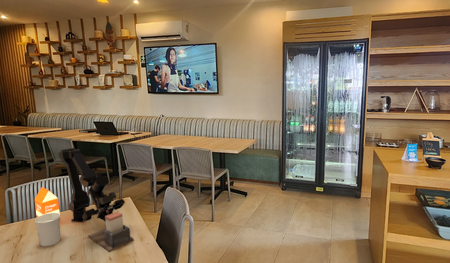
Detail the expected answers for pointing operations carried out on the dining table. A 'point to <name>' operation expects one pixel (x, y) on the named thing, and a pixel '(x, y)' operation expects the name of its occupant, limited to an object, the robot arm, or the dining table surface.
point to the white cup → (48, 229)
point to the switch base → (112, 238)
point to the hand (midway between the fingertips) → (112, 225)
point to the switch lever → (114, 222)
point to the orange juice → (46, 203)
